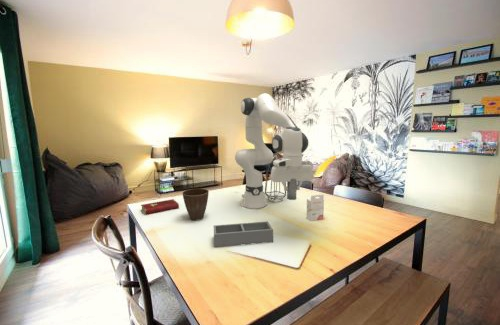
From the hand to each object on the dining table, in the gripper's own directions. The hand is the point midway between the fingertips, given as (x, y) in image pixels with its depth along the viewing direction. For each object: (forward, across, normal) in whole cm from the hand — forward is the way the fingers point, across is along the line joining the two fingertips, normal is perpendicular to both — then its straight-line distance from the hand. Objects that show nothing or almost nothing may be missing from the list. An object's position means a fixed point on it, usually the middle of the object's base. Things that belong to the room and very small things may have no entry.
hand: (291, 190), depth 112 cm
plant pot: (+23, +47, -32) cm, 61 cm away
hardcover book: (+24, +72, -52) cm, 92 cm away
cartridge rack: (+23, +24, 0) cm, 33 cm away
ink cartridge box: (+23, -21, -18) cm, 36 cm away
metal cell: (+4, 0, 0) cm, 4 cm away
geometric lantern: (+23, -9, -57) cm, 62 cm away
